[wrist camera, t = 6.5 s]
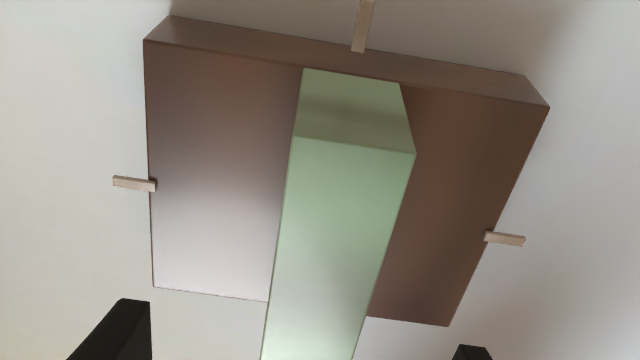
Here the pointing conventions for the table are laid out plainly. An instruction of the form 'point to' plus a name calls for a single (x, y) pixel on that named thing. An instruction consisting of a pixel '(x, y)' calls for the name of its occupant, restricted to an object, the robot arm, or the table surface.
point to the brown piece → (273, 154)
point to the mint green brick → (336, 213)
